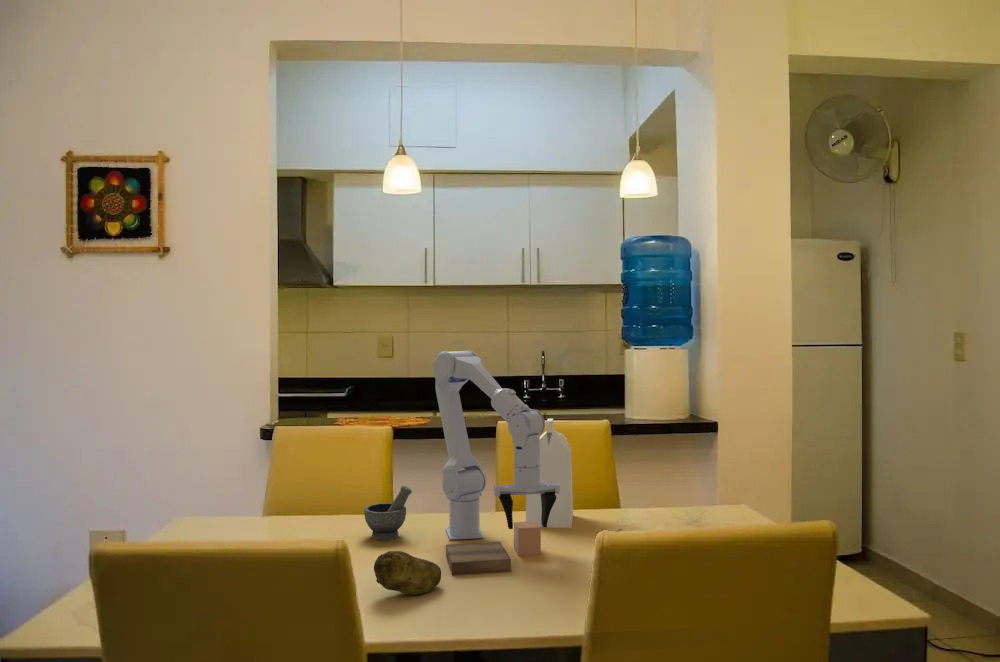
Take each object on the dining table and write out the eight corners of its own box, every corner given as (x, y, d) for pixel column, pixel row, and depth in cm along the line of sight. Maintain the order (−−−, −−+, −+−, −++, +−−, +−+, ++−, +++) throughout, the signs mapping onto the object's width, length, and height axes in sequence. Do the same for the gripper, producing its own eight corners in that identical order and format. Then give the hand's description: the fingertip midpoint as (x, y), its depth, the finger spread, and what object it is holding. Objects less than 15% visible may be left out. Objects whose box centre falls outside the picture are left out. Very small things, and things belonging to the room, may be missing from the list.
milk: (529, 514, 186) (529, 416, 186) (573, 515, 185) (573, 417, 185) (525, 526, 174) (525, 422, 175) (571, 528, 173) (571, 423, 173)
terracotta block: (513, 549, 156) (513, 522, 156) (535, 547, 157) (535, 521, 157) (518, 556, 151) (518, 528, 151) (540, 554, 152) (540, 527, 152)
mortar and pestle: (361, 543, 161) (361, 491, 161) (366, 531, 170) (366, 482, 170) (410, 542, 161) (410, 490, 161) (413, 530, 171) (413, 481, 171)
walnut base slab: (445, 556, 151) (445, 544, 151) (500, 553, 153) (500, 541, 153) (451, 575, 139) (451, 562, 139) (510, 571, 141) (510, 559, 141)
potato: (446, 598, 127) (446, 554, 127) (374, 604, 124) (374, 559, 124) (439, 582, 135) (439, 541, 135) (372, 588, 132) (372, 545, 132)
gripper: (497, 470, 149) (498, 533, 149) (563, 467, 152) (563, 530, 152) (492, 464, 156) (492, 525, 156) (555, 461, 159) (555, 521, 159)
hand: (527, 527), depth 154 cm, fingers open, 7 cm apart
